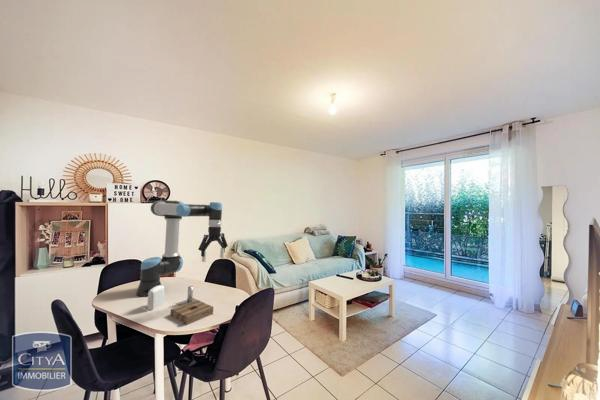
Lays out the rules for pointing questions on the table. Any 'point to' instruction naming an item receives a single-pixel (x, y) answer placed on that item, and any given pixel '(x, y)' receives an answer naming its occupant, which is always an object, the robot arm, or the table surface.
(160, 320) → the table surface
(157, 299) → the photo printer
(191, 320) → the socket block
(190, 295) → the pin
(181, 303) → the mat
